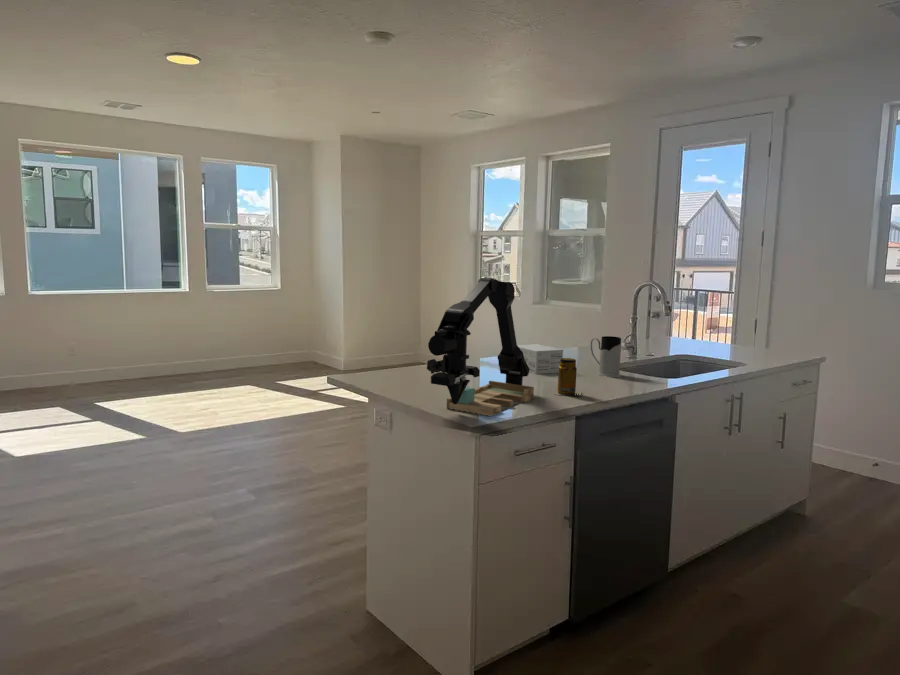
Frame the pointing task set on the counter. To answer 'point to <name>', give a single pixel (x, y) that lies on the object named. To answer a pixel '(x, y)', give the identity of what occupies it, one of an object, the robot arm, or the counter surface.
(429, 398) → the counter surface
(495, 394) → the tray
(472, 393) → the block
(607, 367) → the black and white mug
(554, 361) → the supplement box
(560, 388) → the condiment
